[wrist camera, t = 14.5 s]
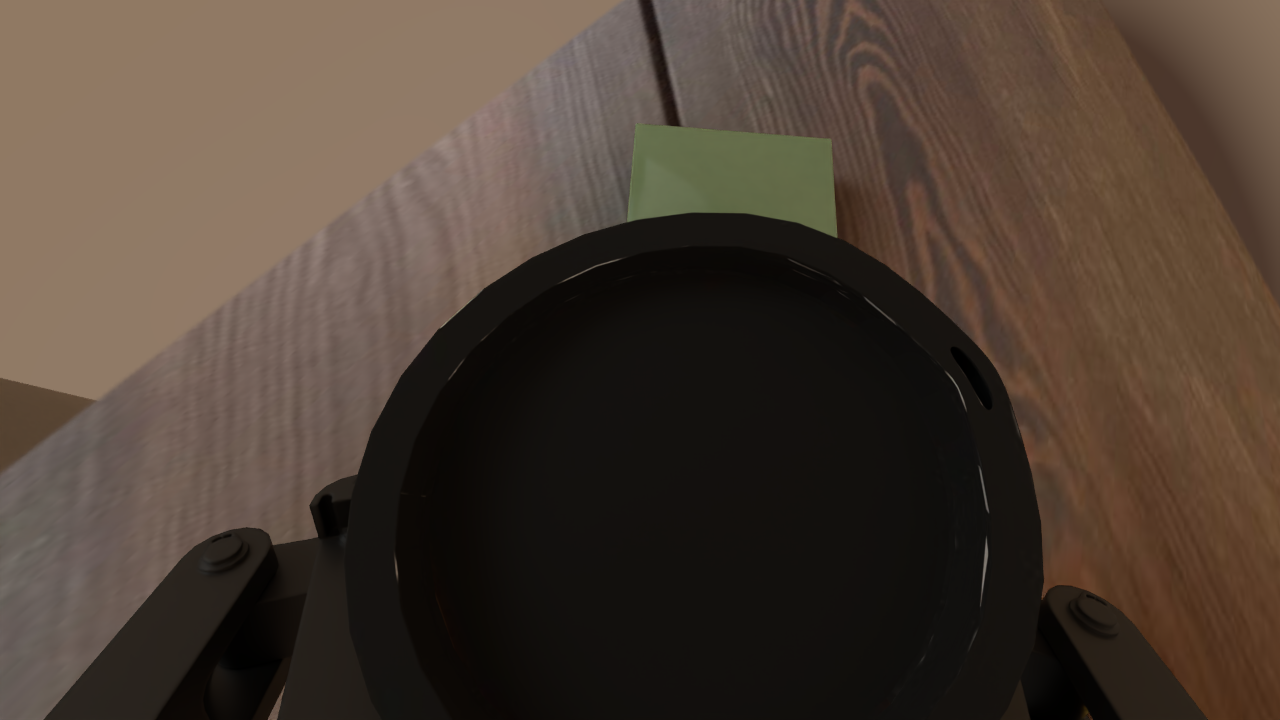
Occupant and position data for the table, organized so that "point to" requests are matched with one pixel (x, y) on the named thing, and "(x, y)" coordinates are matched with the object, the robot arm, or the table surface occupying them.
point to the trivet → (732, 175)
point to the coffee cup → (695, 494)
